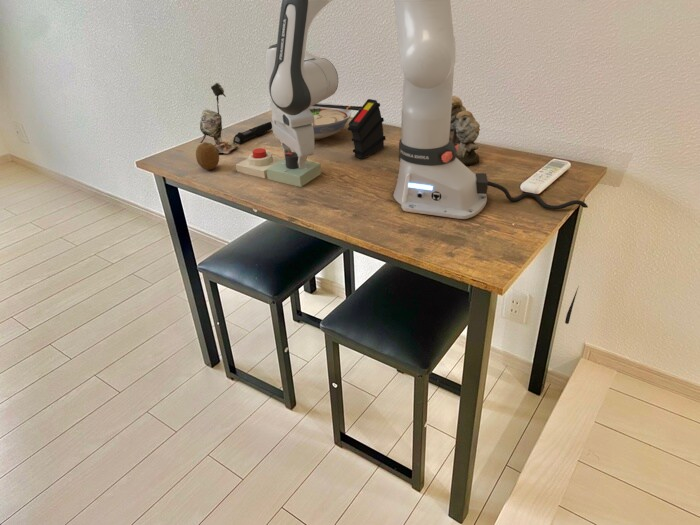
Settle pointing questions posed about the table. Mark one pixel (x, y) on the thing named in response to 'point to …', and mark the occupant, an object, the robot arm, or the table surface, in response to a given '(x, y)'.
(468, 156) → the owl figurine
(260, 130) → the electric trimmer
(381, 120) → the magazine
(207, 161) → the fruit
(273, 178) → the dial panel
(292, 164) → the dial
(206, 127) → the grey mottled tall figure
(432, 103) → the robot arm
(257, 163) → the switch box
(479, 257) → the table surface
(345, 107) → the ramen bowl
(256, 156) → the power button
